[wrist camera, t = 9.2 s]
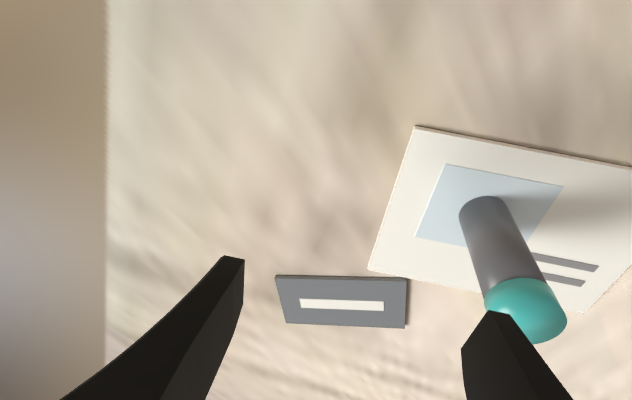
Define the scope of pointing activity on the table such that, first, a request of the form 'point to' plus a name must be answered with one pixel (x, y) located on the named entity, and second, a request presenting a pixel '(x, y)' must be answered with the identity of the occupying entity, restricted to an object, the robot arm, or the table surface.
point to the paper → (524, 205)
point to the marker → (509, 270)
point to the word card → (343, 300)
